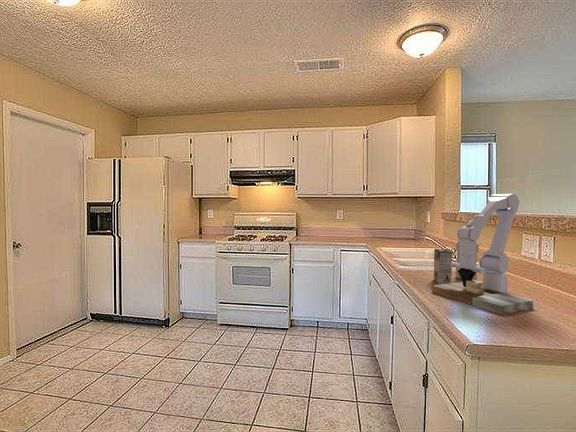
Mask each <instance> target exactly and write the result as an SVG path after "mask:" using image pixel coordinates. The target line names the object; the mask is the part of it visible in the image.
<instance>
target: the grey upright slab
mask: <svg viewBox="0 0 576 432" xmlns="http://www.w3.org/2000/svg"><path fill="white" fill-rule="evenodd" d="M455 251H456V263H460V243H459V239H458V241H457V242H456V243H455ZM479 251H480V245H479V244H478V241H476V249H475V266H477V267H478V265H477V263H478V262H477V258H478V257H477V256H478V253H479ZM458 270H460V268H455V278H456V279H461V276H460V274H459V273H458ZM461 280H462V279H461ZM472 280H476V281H478V272H476V274H475V275H474V277H473V279H472Z"/></svg>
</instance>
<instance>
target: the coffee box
mask: <svg viewBox="0 0 576 432" xmlns="http://www.w3.org/2000/svg"><path fill="white" fill-rule="evenodd" d="M433 254H434V255H433V257H434V258H433V259H434V260H433V281H435V282H436V283H437V285H439V284H447V283H452V277H453V276H452V275H453V273H452V272H453V270H452V269H453V267H451V263H452V262H453V251H452V250H449V249H448V248H434V253H433Z"/></svg>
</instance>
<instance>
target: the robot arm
mask: <svg viewBox="0 0 576 432" xmlns="http://www.w3.org/2000/svg"><path fill="white" fill-rule="evenodd" d="M519 205H520V200H519V196H517V194H516V193H500V194H499V193H498V194H496V193H493V194H491V195H490V196H489V197H488V198H487V204H486V205H485V206H484V208H483V209H482V210H481V212H480V213H479V214H474V215H473V216H472V218H471V219H470V220H469V221H468V222H467V223H466V225H465V226H461V227H459V229H458V231H457V232H456V236H457V238H458V240H459V243H460V263H457V262H454V261H452V263H451V267H452V268H455V269H456V268H460V270H458V273H459V274H460V276H461V282H463V286H464V287H466V281H469V280H472V279H473V277H474V275H475V274H476V272H477V274H478V273H479V274H480V275H481V274H482V275H483V277H482V278H483V279H482V280H483V281H482V282H484V288H487V289H491V290H495V291H499V292H503V293H506V294H510V291H508V282H509V278H508V275H506V272H507V271H508V269H509V260H510V258H509V256H508V255H507V254H506V253H505V249H506V247H507V244H508V243H507V242H508V239H509V237H510V232H511V229H512V225H513V222H514V218H515V215H516V214H517V211H518V208H519ZM494 213H495V214H496V215H498V220H497V223H496V227H495V230H494V233H493V237H492V240H491V244H490V246H489V248H488V250H485V251H484V252H483V253H482V256H481V257H480V259H479V262H478V265H479V266H478V265H477V266H475V249H476V242H477V240H479V239H480V236H481V233H482V230H483V229H484V228H485V227H486V226H487V224H488V223H489V221H488V219H490V217H491V216H492V215H494Z"/></svg>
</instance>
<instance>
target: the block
mask: <svg viewBox="0 0 576 432" xmlns="http://www.w3.org/2000/svg"><path fill="white" fill-rule="evenodd" d="M466 290H467V291H470V292H474V293H481V292H484V282H483V281H480V280H477V281H476V280H469V281H466Z"/></svg>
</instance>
